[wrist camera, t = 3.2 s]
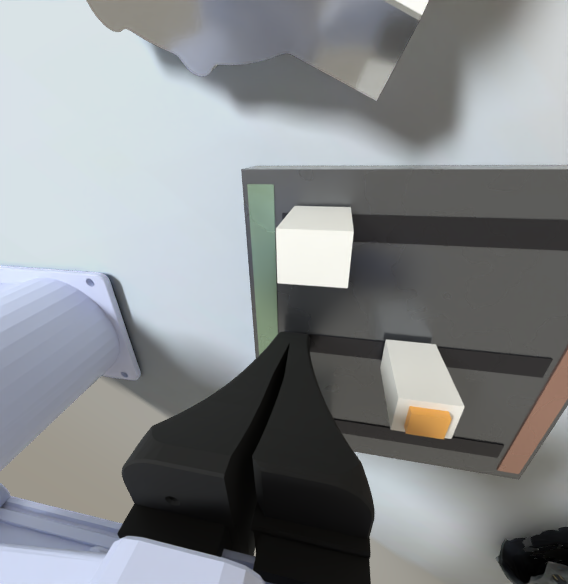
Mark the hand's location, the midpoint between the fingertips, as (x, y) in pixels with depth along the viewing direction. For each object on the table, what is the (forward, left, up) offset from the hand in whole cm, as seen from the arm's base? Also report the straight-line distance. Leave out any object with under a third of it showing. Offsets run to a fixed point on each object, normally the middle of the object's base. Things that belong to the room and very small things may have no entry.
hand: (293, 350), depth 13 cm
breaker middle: (+5, 0, 0) cm, 5 cm away
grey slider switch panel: (+5, 0, -3) cm, 6 cm away
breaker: (+1, +6, 0) cm, 6 cm away
